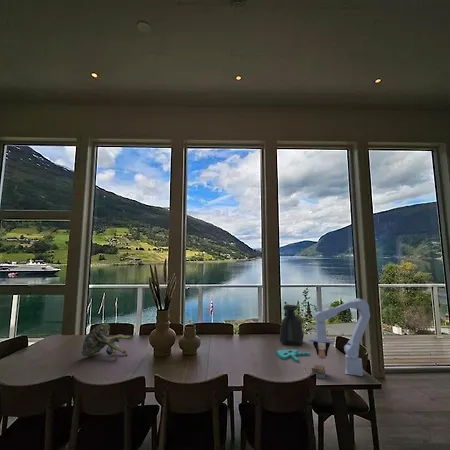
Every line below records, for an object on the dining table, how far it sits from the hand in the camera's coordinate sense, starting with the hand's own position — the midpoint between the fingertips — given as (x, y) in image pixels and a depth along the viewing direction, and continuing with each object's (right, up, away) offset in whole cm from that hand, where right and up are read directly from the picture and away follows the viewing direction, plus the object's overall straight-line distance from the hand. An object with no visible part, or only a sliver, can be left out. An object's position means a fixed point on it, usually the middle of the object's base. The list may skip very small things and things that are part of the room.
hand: (322, 355), depth 178 cm
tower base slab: (-5, -9, -7) cm, 12 cm away
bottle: (-4, -19, +64) cm, 67 cm away
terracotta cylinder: (0, -1, 0) cm, 1 cm away
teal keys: (-13, -14, +29) cm, 35 cm away
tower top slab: (-5, -7, -6) cm, 10 cm away
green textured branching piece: (-143, -15, +32) cm, 147 cm away
